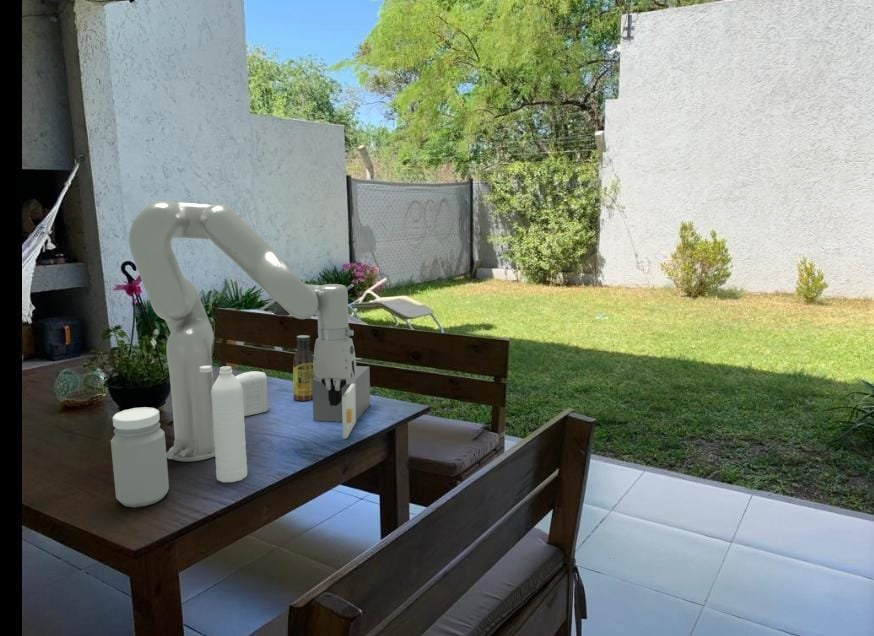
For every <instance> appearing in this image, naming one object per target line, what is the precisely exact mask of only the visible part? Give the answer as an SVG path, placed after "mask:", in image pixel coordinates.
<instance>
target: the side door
mask: <svg viewBox="0 0 874 636" xmlns="http://www.w3.org/2000/svg"><path fill="white" fill-rule="evenodd" d="M342 419H343V422H342V439H348V437H350V434H351V432H352V430H353V428H354V427H355V425H356V423H357V421H356V383H352V384H351V385H350V386H349V388H348V389H347V391H346V392H345V393H344V395H343V396H342Z"/></svg>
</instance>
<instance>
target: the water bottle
mask: <svg viewBox="0 0 874 636" xmlns="http://www.w3.org/2000/svg"><path fill="white" fill-rule="evenodd" d="M212 369H213V365H212V366H201V367H200V372H211V371H212ZM209 370H210V371H209ZM218 373H219V374H218V376H217V378H216V379H215V380H214V384H213V386H212V389H211V398H212V408H213V409H212V411H213V431H214V442H215V444H214V446H215V456H214V457H215V467H216V468H215V476H216V480H217V481H218V482H221V483H226V484H227V483H229V484H230V483H236V482H240V481H242V480H244V479H245V478H246V477H247V476H248V464H247V463H248V462H247V461H248V460H247V459H248V458H247V448H246V446H247V442H246V431H245V430H246V426H245V425H246V424H245V423H246V422H245V416H244V406H243V388H242V385H241V383H240V382H239V381H238V380H237V379H236V377H235V376H236V375H234V374H233V369H232V366H229V365H226V366H224V365H223V366H221V367H220V368H219V372H218Z"/></svg>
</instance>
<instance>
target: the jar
mask: <svg viewBox="0 0 874 636" xmlns="http://www.w3.org/2000/svg"><path fill="white" fill-rule="evenodd" d="M160 416H161V415H160V410H159V409H156V408H155V407H147V406H143V407H133V408H129V409H123V410H122V411H118V412H117V413H114V415H113V416H112V426H113V427H114V429H113V433H114V435H113V437H112V439H110V448H111V458H112V459H111V461H112V472H113V480H114V490H115V499H116V500H117V501H118V502H120V503H121V504H122V506H124V507H129V508H140V507H146V506H149V505H152V504H156V503H157V502H159V501H161V500H162V499H164V498H165V496H166V495H167V493H168V491H169V488H170V484H169V483H170V482H169V470H168V460H167V459H168V458H167V456H166V452H167V445H166V435H165V434H166V432H165V431H164V430H163V429H162V428H161V427H160V426H161V423H160Z"/></svg>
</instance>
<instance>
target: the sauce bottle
mask: <svg viewBox="0 0 874 636" xmlns="http://www.w3.org/2000/svg"><path fill="white" fill-rule="evenodd" d="M296 342H297V343H296V344H297V345H296V352H295V354H294V357H293V367H292V368H293V370H292V373H293V374H292V377H293V378H292V383H293V385H292V387H293V388H292V389H293V390H292V391H293V399H294V400H295V401H300V402H302V401H303V402H304V401H309V400H313V391H312V379H313V378H314V377H315V375H314V369H313V361H314V355H313V354H312V352H311V350H310V349H311V348H310V342H311V337H310V335H308V334H307V335H306V334H305V335H304V334H300V335H297V336H296Z"/></svg>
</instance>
